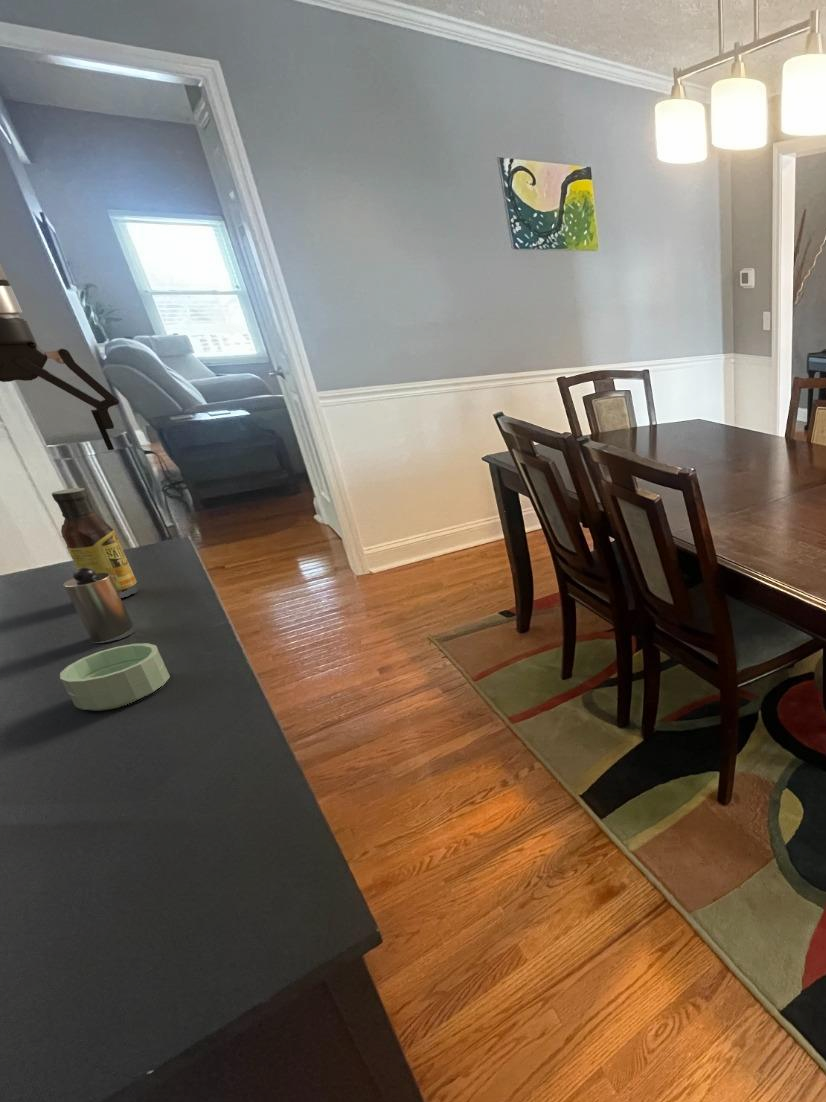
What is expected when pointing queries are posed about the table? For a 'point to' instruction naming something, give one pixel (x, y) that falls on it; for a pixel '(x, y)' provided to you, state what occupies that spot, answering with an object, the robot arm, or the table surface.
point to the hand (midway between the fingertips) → (53, 455)
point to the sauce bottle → (92, 538)
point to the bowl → (115, 676)
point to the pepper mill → (98, 604)
